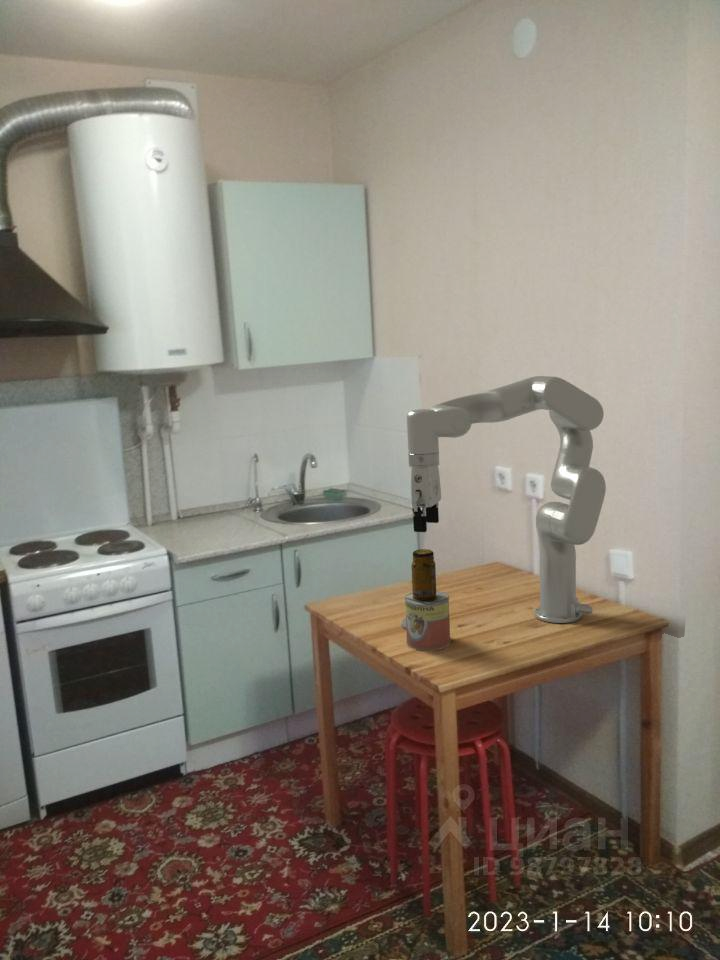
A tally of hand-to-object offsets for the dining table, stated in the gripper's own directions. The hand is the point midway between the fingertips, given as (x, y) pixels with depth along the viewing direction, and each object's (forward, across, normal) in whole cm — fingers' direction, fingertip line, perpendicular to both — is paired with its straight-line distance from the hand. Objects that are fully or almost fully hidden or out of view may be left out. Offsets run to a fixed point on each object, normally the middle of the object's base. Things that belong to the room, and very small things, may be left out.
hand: (426, 527), depth 198 cm
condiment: (+18, -1, 0) cm, 18 cm away
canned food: (+30, -1, 0) cm, 30 cm away
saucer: (+30, +10, +6) cm, 32 cm away
